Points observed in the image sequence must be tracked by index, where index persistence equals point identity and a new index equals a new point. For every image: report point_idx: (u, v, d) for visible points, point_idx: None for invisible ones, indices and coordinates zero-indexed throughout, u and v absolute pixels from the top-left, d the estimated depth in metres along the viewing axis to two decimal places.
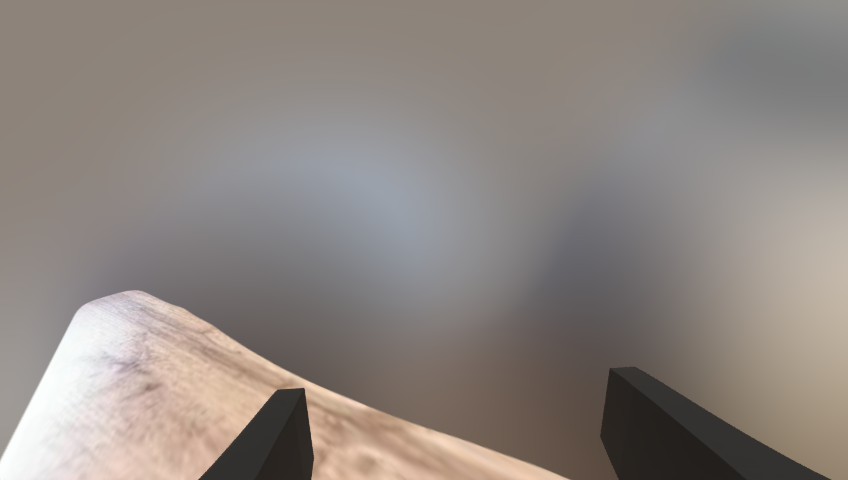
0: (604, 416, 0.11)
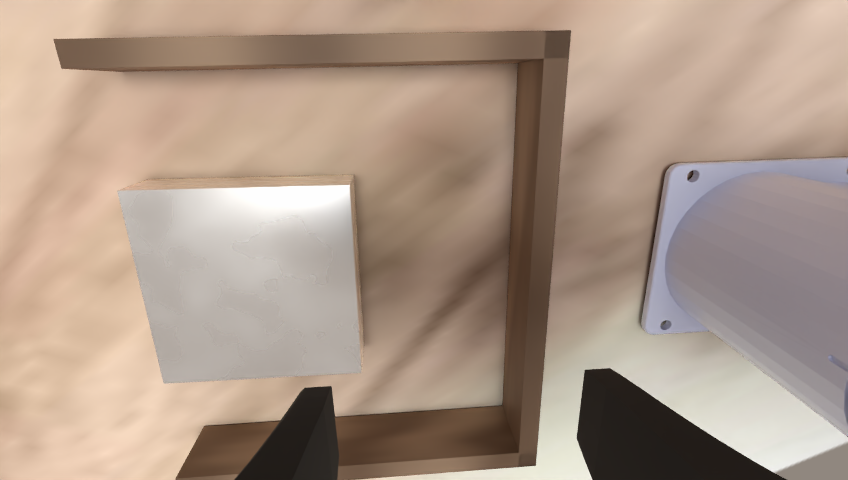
0: (580, 418, 0.11)
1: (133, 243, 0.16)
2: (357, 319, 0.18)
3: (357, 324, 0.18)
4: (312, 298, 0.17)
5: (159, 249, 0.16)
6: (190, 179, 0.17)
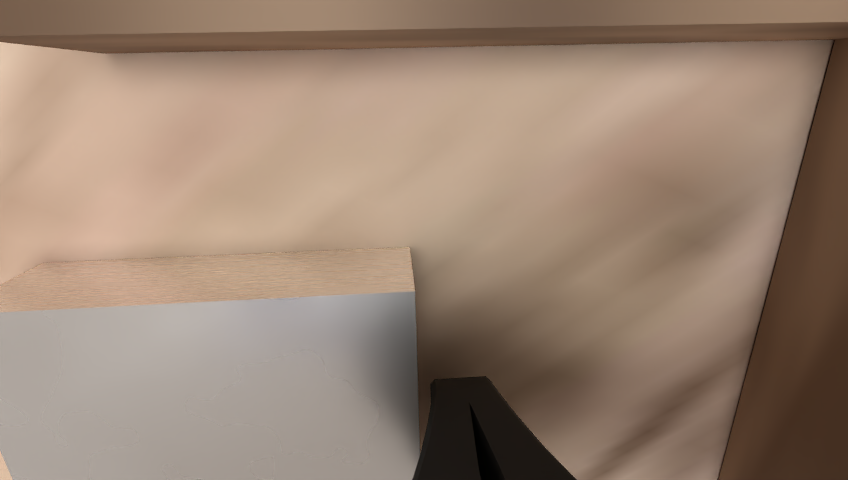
0: None
1: None
2: None
3: None
4: None
5: (42, 417, 0.08)
6: (111, 268, 0.09)
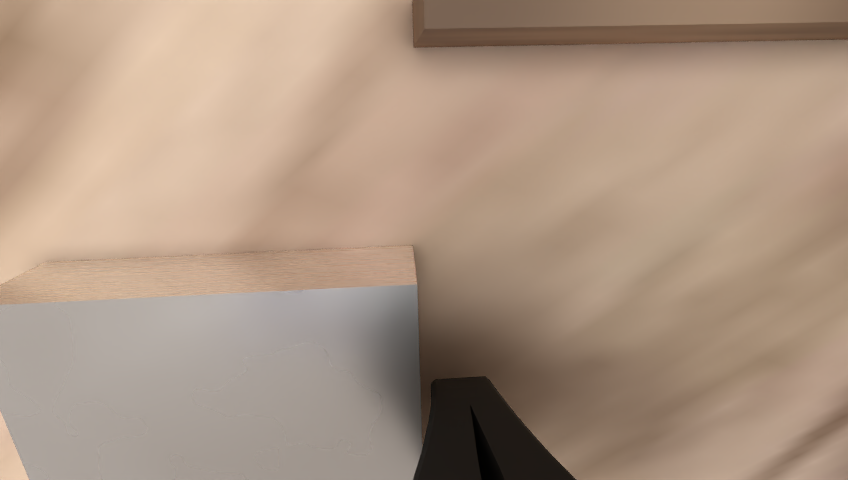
0: None
1: (2, 399, 0.08)
2: None
3: None
4: (342, 477, 0.09)
5: (53, 407, 0.08)
6: (120, 263, 0.09)
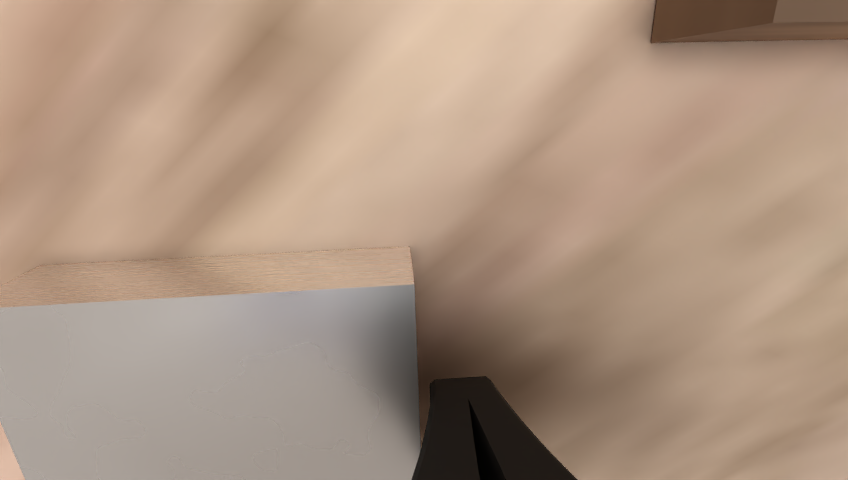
0: None
1: None
2: None
3: None
4: (341, 478, 0.09)
5: (51, 410, 0.08)
6: (117, 265, 0.09)
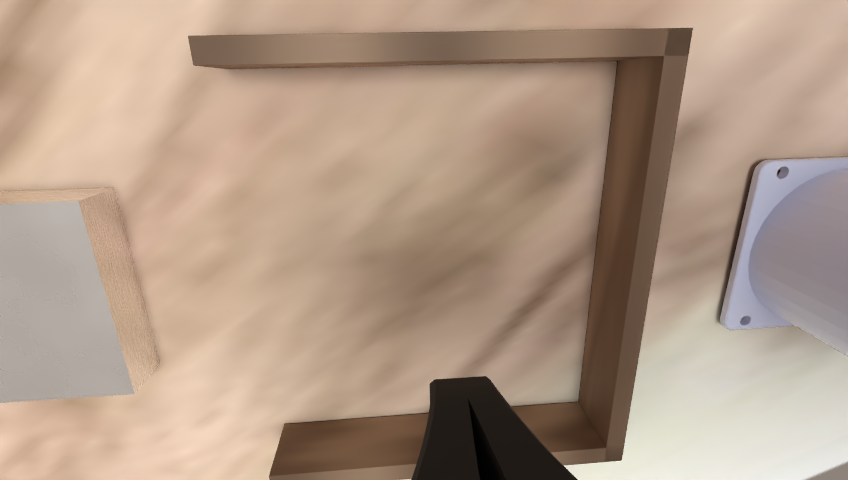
0: None
1: None
2: (118, 339, 0.17)
3: (119, 344, 0.17)
4: (63, 319, 0.16)
5: None
6: None
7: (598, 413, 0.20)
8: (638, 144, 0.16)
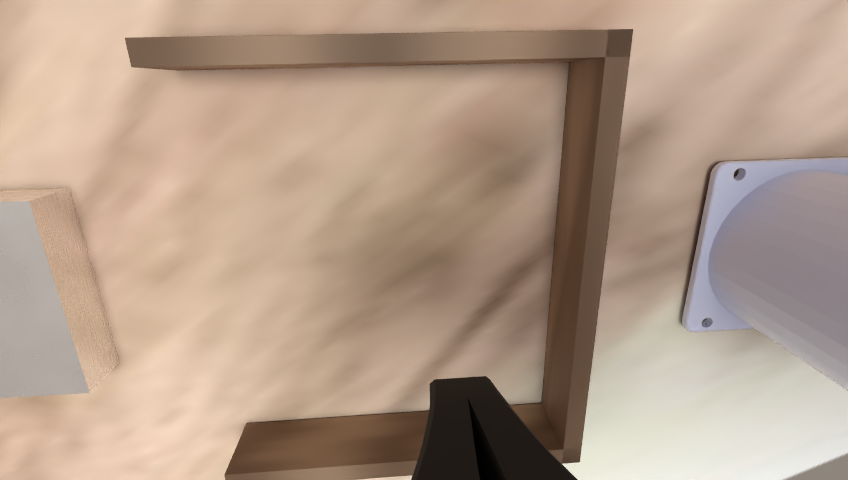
0: None
1: None
2: (72, 338, 0.17)
3: (73, 343, 0.17)
4: (16, 317, 0.17)
5: None
6: None
7: (557, 414, 0.20)
8: (586, 145, 0.16)
